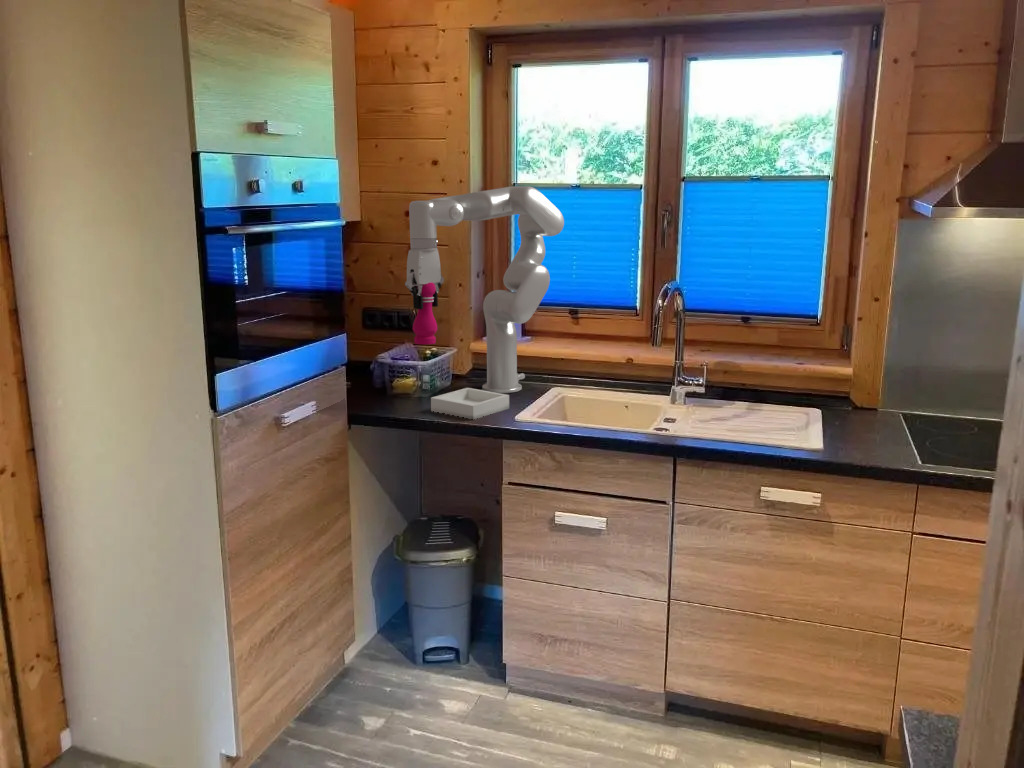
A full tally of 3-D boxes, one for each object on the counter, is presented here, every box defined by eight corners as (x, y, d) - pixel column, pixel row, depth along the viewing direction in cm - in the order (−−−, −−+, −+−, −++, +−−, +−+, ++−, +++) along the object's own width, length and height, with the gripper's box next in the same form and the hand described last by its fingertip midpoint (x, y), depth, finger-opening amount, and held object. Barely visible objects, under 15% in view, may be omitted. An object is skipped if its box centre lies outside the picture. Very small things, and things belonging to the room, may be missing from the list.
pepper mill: (435, 345, 241) (436, 275, 237) (411, 344, 241) (411, 274, 237) (438, 341, 248) (439, 273, 244) (414, 340, 248) (414, 273, 244)
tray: (467, 400, 252) (467, 387, 251) (509, 408, 243) (509, 395, 242) (431, 411, 240) (430, 397, 239) (473, 420, 230) (473, 405, 229)
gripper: (434, 242, 247) (436, 303, 251) (392, 246, 234) (395, 310, 238) (453, 243, 243) (455, 305, 247) (411, 247, 229) (414, 312, 234)
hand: (425, 307), depth 242 cm, fingers closed on pepper mill, 5 cm apart
